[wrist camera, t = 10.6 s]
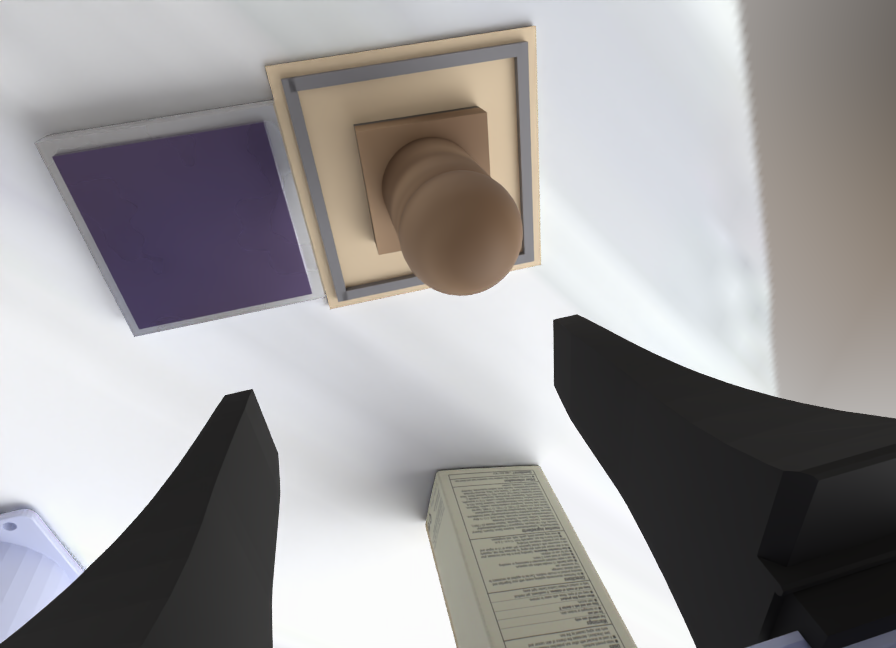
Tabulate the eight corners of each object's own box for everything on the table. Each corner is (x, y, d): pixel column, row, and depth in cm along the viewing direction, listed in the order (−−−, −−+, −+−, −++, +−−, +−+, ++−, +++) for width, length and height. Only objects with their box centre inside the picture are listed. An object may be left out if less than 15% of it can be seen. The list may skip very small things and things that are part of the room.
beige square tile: (330, 306, 22) (330, 312, 22) (265, 66, 17) (264, 67, 17) (539, 262, 23) (543, 267, 23) (533, 25, 19) (539, 26, 18)
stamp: (375, 242, 21) (405, 346, 15) (353, 124, 19) (378, 190, 13) (484, 222, 22) (556, 314, 16) (477, 105, 19) (559, 160, 13)
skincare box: (423, 523, 31) (483, 788, 20) (435, 465, 28) (510, 729, 18) (526, 516, 32) (629, 756, 22) (546, 461, 30) (669, 699, 20)
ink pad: (141, 322, 21) (132, 341, 20) (47, 135, 17) (30, 145, 16) (324, 285, 22) (325, 300, 21) (274, 99, 18) (272, 106, 17)
